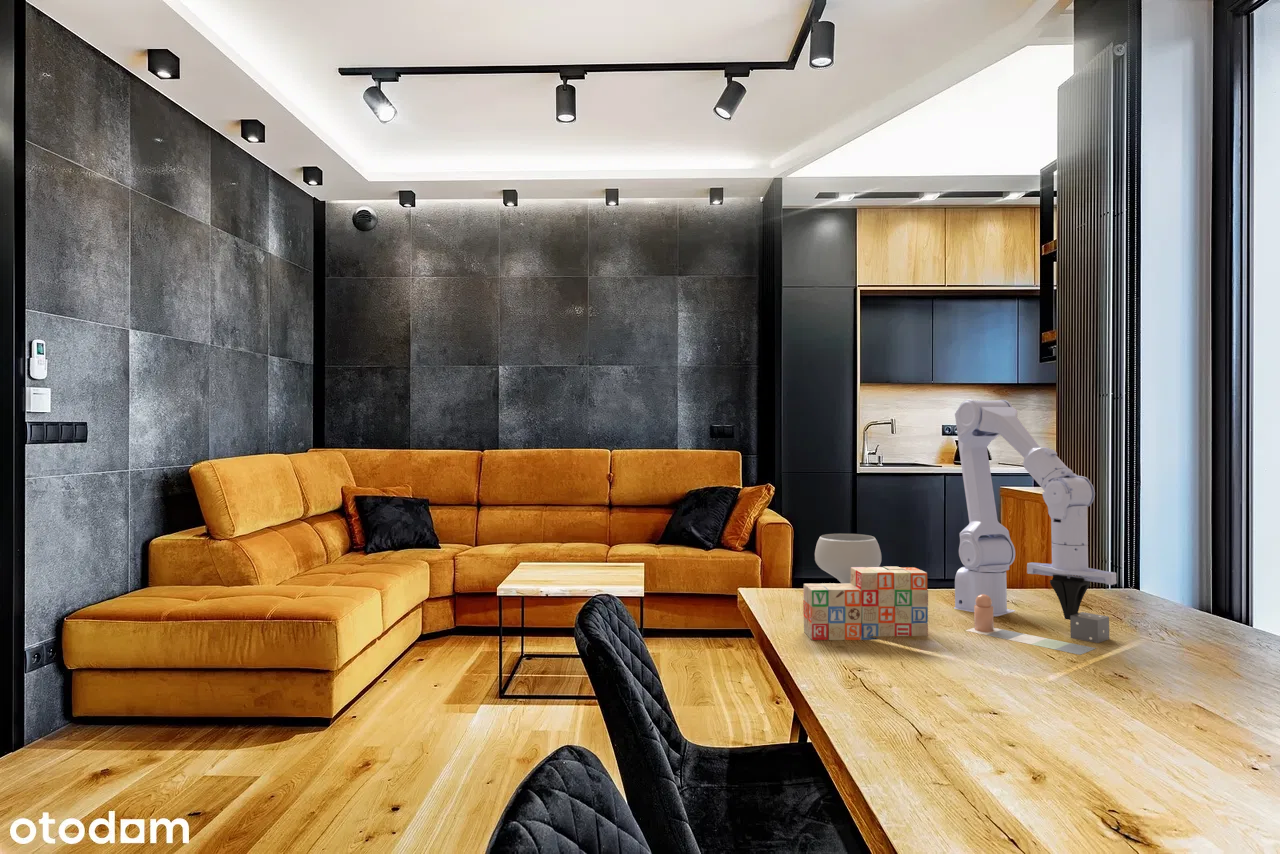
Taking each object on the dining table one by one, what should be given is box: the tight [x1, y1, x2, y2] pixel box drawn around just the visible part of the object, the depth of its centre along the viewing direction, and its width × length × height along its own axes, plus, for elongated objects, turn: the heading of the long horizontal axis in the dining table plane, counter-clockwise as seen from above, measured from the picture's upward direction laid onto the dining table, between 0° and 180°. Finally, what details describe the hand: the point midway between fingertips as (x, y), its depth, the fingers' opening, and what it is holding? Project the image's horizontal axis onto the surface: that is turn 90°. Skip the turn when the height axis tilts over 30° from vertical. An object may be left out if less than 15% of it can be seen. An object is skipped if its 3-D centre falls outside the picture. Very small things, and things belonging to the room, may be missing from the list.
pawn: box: [973, 594, 995, 632], centre depth 140 cm, size 3×3×7 cm
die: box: [1069, 611, 1110, 644], centre depth 134 cm, size 5×5×5 cm
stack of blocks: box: [802, 565, 929, 641], centre depth 139 cm, size 21×6×12 cm, turn 91°
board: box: [965, 627, 1097, 656], centre depth 133 cm, size 20×6×1 cm, turn 37°
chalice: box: [814, 533, 882, 583], centre depth 163 cm, size 14×14×15 cm
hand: (1070, 618), depth 136 cm, fingers closed
